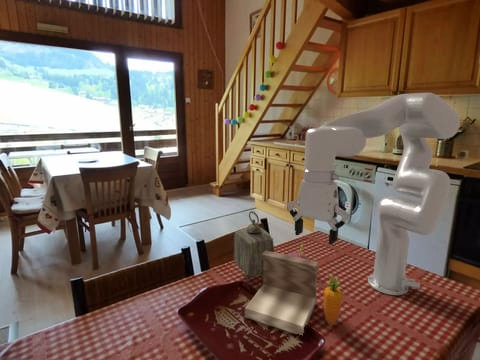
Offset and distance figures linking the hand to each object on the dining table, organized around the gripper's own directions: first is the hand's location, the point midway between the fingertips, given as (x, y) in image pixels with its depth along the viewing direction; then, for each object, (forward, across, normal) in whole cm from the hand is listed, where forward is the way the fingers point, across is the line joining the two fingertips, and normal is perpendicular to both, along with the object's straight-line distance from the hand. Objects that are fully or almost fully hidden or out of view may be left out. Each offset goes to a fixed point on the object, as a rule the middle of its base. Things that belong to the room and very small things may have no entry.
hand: (315, 238), depth 81 cm
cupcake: (+25, +16, -22) cm, 37 cm away
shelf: (+25, +8, +2) cm, 26 cm away
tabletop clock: (+25, +26, -7) cm, 37 cm away
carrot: (+25, -6, -1) cm, 26 cm away
